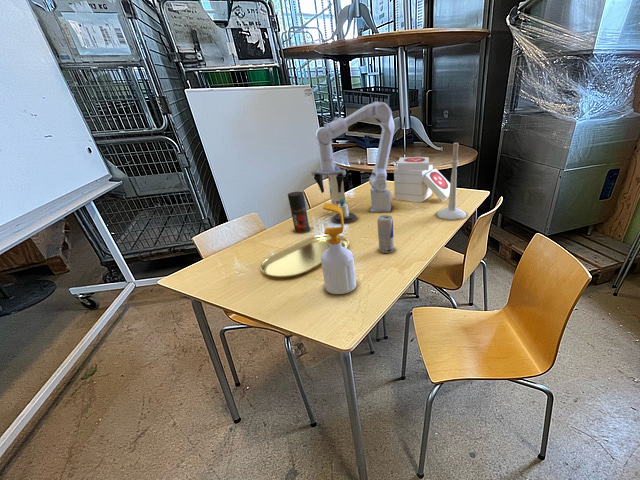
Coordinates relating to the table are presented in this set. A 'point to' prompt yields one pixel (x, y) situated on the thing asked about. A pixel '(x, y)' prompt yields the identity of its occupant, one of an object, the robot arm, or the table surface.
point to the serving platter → (298, 257)
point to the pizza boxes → (418, 180)
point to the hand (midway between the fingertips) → (331, 192)
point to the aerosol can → (335, 189)
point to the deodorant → (298, 212)
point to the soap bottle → (337, 259)
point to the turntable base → (345, 220)
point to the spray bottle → (344, 211)
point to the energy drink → (385, 234)
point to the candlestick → (452, 193)
